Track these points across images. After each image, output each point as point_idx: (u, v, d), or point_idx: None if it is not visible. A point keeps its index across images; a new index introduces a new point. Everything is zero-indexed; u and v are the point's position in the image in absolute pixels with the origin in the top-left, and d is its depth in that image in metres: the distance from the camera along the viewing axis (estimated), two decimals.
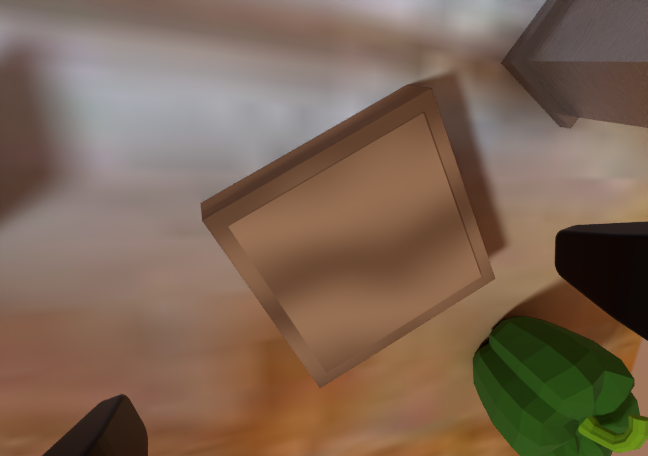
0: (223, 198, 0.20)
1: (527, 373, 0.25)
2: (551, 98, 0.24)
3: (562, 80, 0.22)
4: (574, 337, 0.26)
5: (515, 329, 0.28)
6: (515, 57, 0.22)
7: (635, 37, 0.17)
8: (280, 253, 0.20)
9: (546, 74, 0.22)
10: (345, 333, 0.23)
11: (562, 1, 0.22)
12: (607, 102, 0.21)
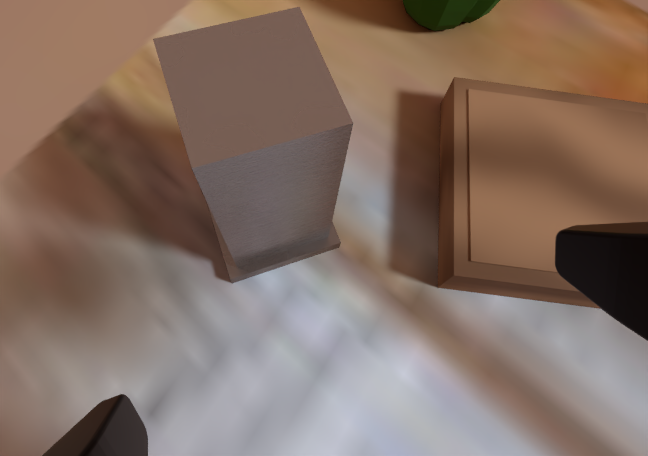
0: None
1: None
2: None
3: None
4: None
5: (444, 17, 0.27)
6: (333, 244, 0.22)
7: (311, 199, 0.17)
8: None
9: None
10: (615, 132, 0.24)
11: (268, 260, 0.22)
12: None
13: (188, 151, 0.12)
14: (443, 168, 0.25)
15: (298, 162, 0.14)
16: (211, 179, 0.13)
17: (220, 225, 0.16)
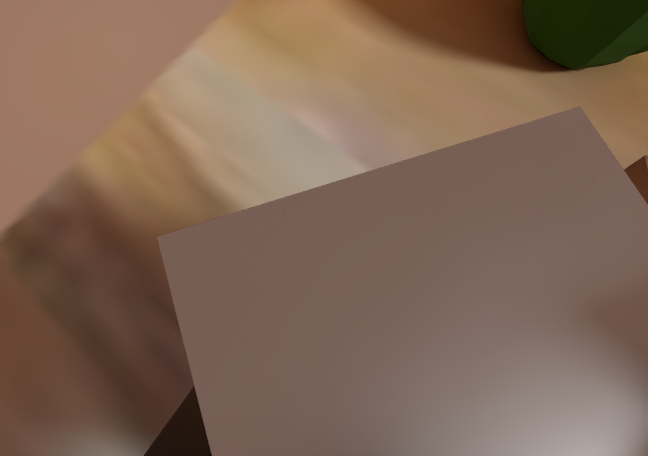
0: None
1: None
2: None
3: None
4: None
5: (604, 52, 0.18)
6: None
7: None
8: None
9: None
10: None
11: None
12: None
13: None
14: None
15: None
16: None
17: None
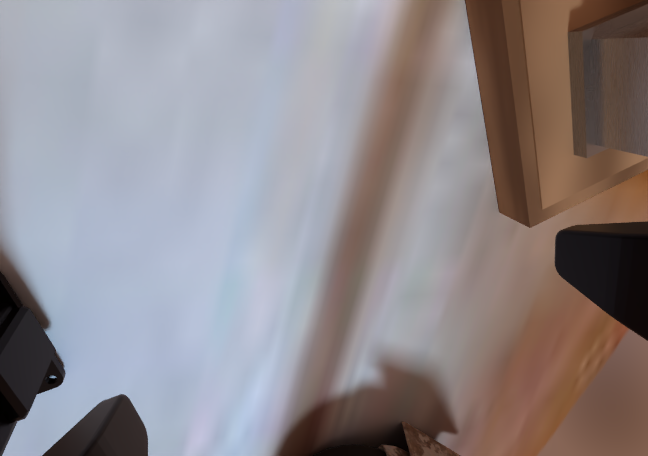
0: (511, 201, 0.23)
1: None
2: None
3: None
4: None
5: None
6: (586, 151, 0.21)
7: None
8: (579, 168, 0.22)
9: None
10: None
11: (589, 77, 0.19)
12: None
13: None
14: None
15: None
16: None
17: None
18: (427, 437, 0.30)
